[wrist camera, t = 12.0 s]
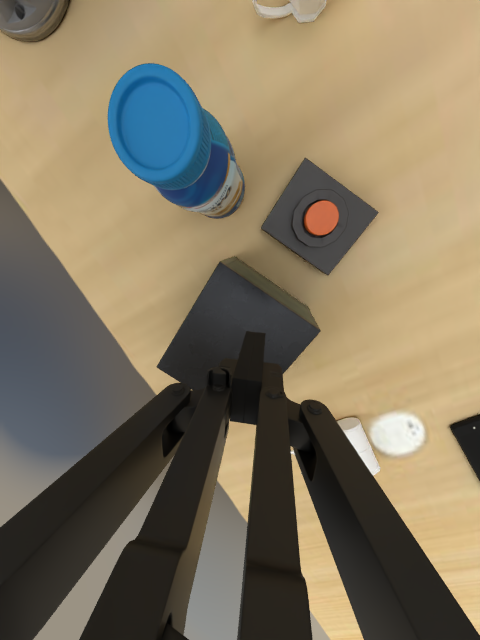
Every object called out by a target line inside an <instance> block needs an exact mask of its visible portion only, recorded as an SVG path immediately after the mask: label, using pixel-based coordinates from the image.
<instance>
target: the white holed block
mask: <svg viewBox="0 0 480 640" xmlns="http://www.w3.org/2000/svg"><path fill="white" fill-rule="evenodd" d="M337 423H338V424H339V426H340V427H341V429H342V430H343V432H344V433H345V435H346V436H347V438H348V439H349V441H350V442H351V444H352V445H353V447H354V448H355V450H356V451H357V453H358V454H359V456H360V457H361V459H362V460H363V462H364V463H365V465H366V466H367V468H368V469H369V471H370V472H371V474H372V475H375V474H376V473H378V472H379V471H380V466H379V464H378V462H377V460H376V457H375V455H374V453H373V450H372V448H371V446H370V443H369V441H368V439H367V437H366V434H365V432H364V430H363V427H362V425H361V423H360V421H359V419H357V418H344V419H342V420H338V421H337ZM291 453H292V454H294V455H295V453H294V450H292V451H291ZM301 474H302V473H301Z"/></svg>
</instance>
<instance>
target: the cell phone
mask: <svg viewBox="0 0 480 640" xmlns="http://www.w3.org/2000/svg"><path fill="white" fill-rule="evenodd" d="M450 428H451V430H452V432H453V434H454V435H455V437H456V439H457V441H458V443H459V444H460V446H461V448H462V450H463V452H464V453H465V455H466V457H467V459H468V461H469V462H470V464H471V466H472V468H473V470H474V471H475V473H476V475H477V477H478V479H479V480H480V415H479V416H476V417H473V418H470V419H467V420H464V421H462V422H459V423H456V424H453V425H452V426H451V427H450Z"/></svg>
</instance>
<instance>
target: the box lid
mask: <svg viewBox="0 0 480 640" xmlns="http://www.w3.org/2000/svg"><path fill="white" fill-rule="evenodd" d="M246 331H251V332H261V333H266V335H265V349H264V362H266V363H275V364H279V365H280V366H281V368H282V374H283V373H284V372H285V371H286V370H287V369H288V368H289V367H290V365H291V364H292V363H293V362H294V361H295V360H296V359H297V357H298V356H299V355H300V354H301V353H302V352H303V351H304V349H305V348H306V347H307V346H308V345H309V344H310V343H311V341H312V340H313V339H314V338H315V337H316V336H317V335H318V333H319V332H320V331H321V330H320V328H318V327H317V326H315V325H314V324H313V323H311V322H310V321H308V320H307V319H305V318H304V317H302V316H301V315H299V314H298V313H296V312H295V311H294V310H292V309H291V308H289V307H288V306H286V305H285V304H283V303H282V302H280V301H279V300H278V299H276V298H275V297H273V296H272V295H270V294H269V293H267V292H266V291H264V290H263V289H261V288H260V287H259V286H257V285H256V284H254V283H253V282H251V281H250V280H248V279H247V278H245V277H244V276H243V275H241V274H240V273H238V272H237V271H235V270H234V269H232V268H231V267H229V266H228V265H226V264H225V263H224V262H222V261H220V262H219V264H218V265H217V267H216V269H215V270H214V272H213V274H212V275H211V277H210V279H209V280H208V282H207V284H206V285H205V287H204V289H203V290H202V292H201V294H200V295H199V297H198V299H197V300H196V302H195V304H194V305H193V307H192V309H191V310H190V312H189V314H188V315H187V317H186V319H185V320H184V322H183V324H182V325H181V327H180V329H179V330H178V332H177V334H176V335H175V337H174V339H173V340H172V342H171V344H170V345H169V347H168V349H167V350H166V352H165V354H164V355H163V357H162V359H161V360H160V362H159V364H158V365H157V368H159V369H160V370H162V371H163V372H165V373H167V374H168V375H170V376H171V377H173V378H174V379H176V380H178V381H179V382H181V383H184V384H187V385H189V387H190V389H192V390H201V389H204V388H205V387H206V379H207V371H208V370H209V369H211V368H213V367H218V366H219V364H220V361H222V360H223V359H225V358H228V359H237V360H238V357H239V354H240V351H241V347H242V344H243V340H244V337H245V334H246Z"/></svg>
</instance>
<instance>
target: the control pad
mask: <svg viewBox="0 0 480 640" xmlns="http://www.w3.org/2000/svg"><path fill="white" fill-rule="evenodd" d="M322 200H326V201H330V202H332V203H333V204H334V205H335V206H336V207H337V209H338V212H339V220H338V223H337V225H336V227H335V228H334V229H333V230H332V231H331V232H329V233H328V234H325V235H319V236H317V235H313V234H311V233H309V232H308V231H307V230H306V228H305V225H304V217H305V214H306V212H307V210H308V209H309V208H310V207H311V206H312V205H313V204H314V203H316V202H318V201H322ZM378 213H379V212H378V211H376V210H375V209H374V208H372V207H371V206H370V205H368V204H367V203H366V202H364V201H363V200H362V199H360V198H359V197H357V196H356V195H355V194H353V193H352V192H351V191H349V190H348V189H347V188H345V187H344V186H343V185H341V184H340V183H339V182H337V181H336V180H335V179H333V178H332V177H331V176H329V175H328V174H327V173H325V172H324V171H323V170H321V169H320V168H319V167H317V166H316V165H315V164H313V163H312V162H311V161H309V160H308V159H306V158H305V159H304V160H303V162H302V164H301V165H300V167H299V168H298V170H297V171H296V173H295V175H294V176H293V178H292V179H291V181H290V182H289V184H288V186H287V187H286V189H285V190H284V192H283V194H282V195H281V197H280V198H279V200H278V201H277V203H276V205H275V206H274V208H273V209H272V211H271V212H270V214H269V216H268V217H267V219H266V220H265V222H264V223H263V225H262V227H261V229H263V230H264V231H265V232H267V233H268V234H270V235H271V236H272V237H274V238H275V239H277V240H278V241H280V242H281V243H282V244H284V245H285V246H287V247H288V248H289V249H291V250H292V251H294V252H295V253H297V254H298V255H299V256H301V257H302V258H304V259H305V260H306V261H308V262H309V263H311V264H312V265H313V266H315V267H316V268H318V269H319V270H321V271H322V272H323V273H325V274H326V275H329V274H330V273H331V271H332V270H333V269H334V268H335V266H336V265H337V264H338V263H339V261H340V260H341V259H342V258H343V256H344V255H345V254H346V253H347V251H348V250H349V249H350V248H351V246H352V245H353V244H354V243H355V241H356V240H357V239H358V238H359V236H360V235H361V234H362V233H363V231H364V230H365V229H366V228H367V226H368V225H369V224H370V223H371V221H372V220H373V219H374V218H375V217H376V215H377V214H378Z"/></svg>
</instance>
